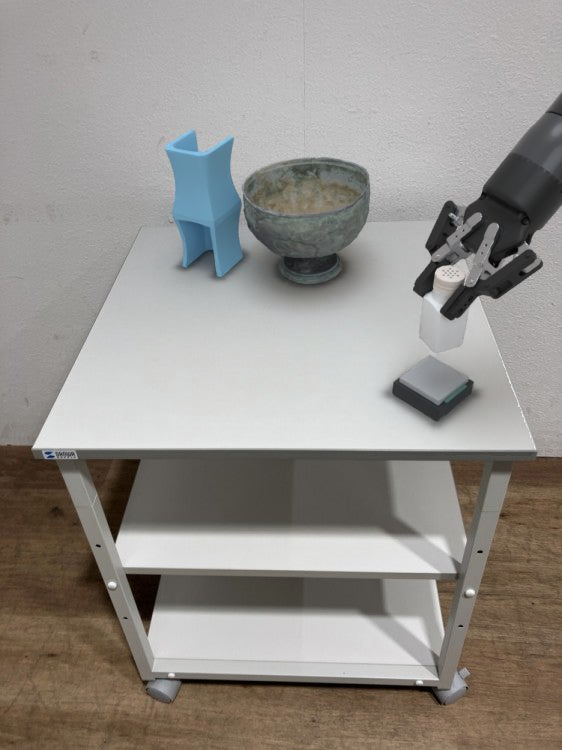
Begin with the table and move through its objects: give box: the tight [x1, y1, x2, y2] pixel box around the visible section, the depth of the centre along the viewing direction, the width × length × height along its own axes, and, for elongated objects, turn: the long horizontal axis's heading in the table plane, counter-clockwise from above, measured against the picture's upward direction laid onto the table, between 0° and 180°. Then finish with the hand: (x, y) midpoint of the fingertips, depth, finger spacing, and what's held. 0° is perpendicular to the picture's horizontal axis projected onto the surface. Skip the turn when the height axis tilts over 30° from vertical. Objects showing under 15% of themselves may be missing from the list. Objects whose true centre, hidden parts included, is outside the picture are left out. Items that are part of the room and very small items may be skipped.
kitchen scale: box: [391, 354, 475, 422], centre depth 77 cm, size 7×7×3 cm
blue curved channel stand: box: [164, 129, 244, 278], centre depth 98 cm, size 8×8×20 cm
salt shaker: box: [418, 265, 471, 354], centre depth 69 cm, size 4×4×10 cm
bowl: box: [241, 156, 371, 285], centre depth 96 cm, size 20×19×15 cm
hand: (432, 304), depth 68 cm, fingers closed on salt shaker, 4 cm apart
